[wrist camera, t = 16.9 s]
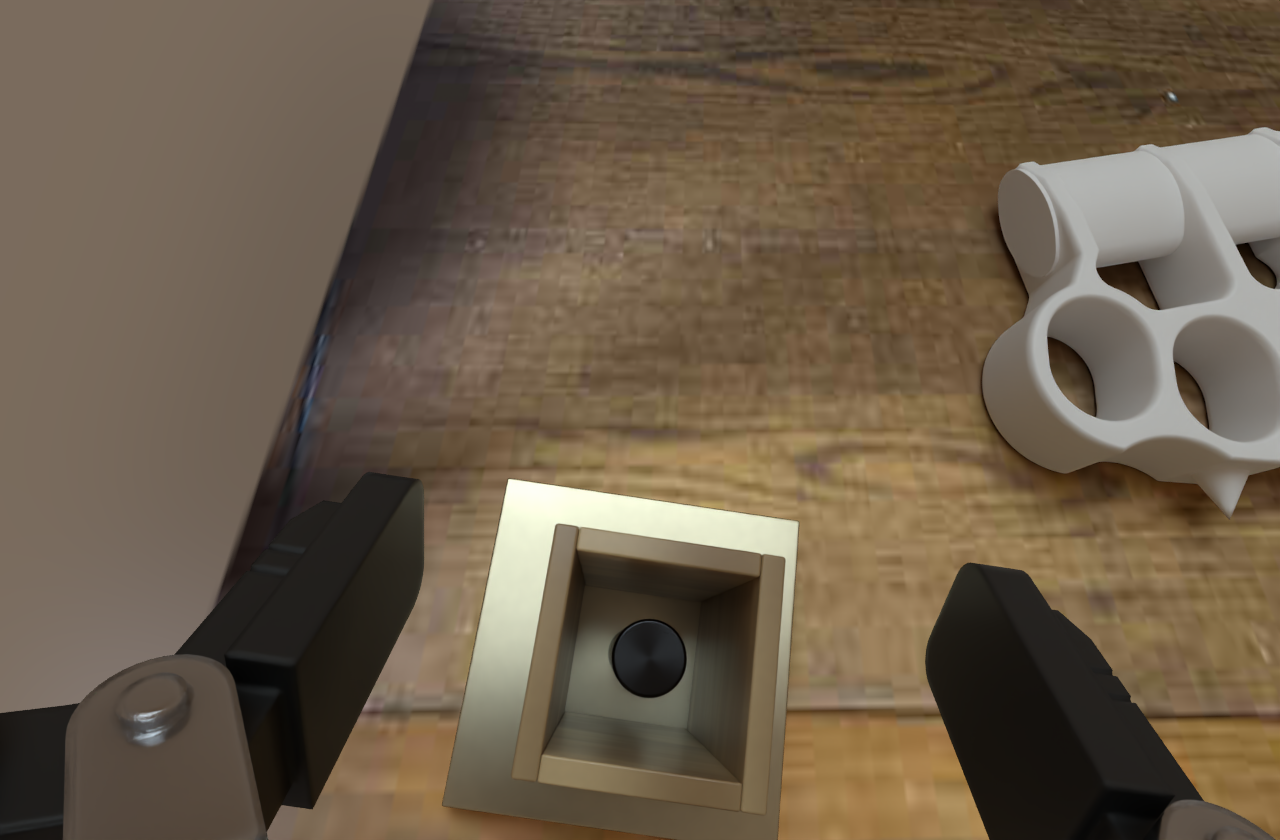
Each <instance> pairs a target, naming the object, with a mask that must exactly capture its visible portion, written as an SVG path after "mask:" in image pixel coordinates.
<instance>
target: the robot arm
mask: <svg viewBox="0 0 1280 840" xmlns="http://www.w3.org/2000/svg"><path fill="white" fill-rule="evenodd" d="M423 569H424V490H423V485H422V482H421V481H420V480H419V479H413V478H406V477H399V476H393V475H386V474H379V473H372V472H368V473H366V474H364V475H363V476H362V478H361V479H360V480H359V481H358V483H357V484H356V485H355V487H354V488H353V489H352V490H351V492H350V493H349V494H348V496H347V497H346V498H345V499H344V501H343V502H342V503H337V502H330V501H322V502H320V503H318V504H317V505H315V506H313V507H312V508H310V509H308V510H306V511H305V512H303V513H301V514H300V515H298V516H296V517H294V518H293V519H291V520H290V521H289V522H288V523H287V525H286V526H285V527H284V528H283V529H282V530H281V532H280V533H279V534H278V535H277V536H276V537H275V539H274V540H273V541H272V542H271V543H270V544H269V549H268V550H264V551H263V552H262V554H261V555H260V556H259V557H258V558H257V559H256V561H255V562H254V563H253V564H252V565H251V570H250V571H246V572H245V573H244V575H243V576H242V577H241V578H240V579H239V580H238V582H237V583H236V584H235V585H234V586H233V587H232V588H231V590H230V591H229V592H228V593H227V594H226V595H225V597H224V598H223V599H222V600H221V601H220V602H219V604H218V605H217V606H216V607H215V608H214V609H213V611H212V612H211V613H210V614H209V615H208V616H207V618H206V619H205V620H204V621H203V622H202V623H201V625H200V626H199V627H198V628H197V629H196V631H194V633H193V634H192V635H191V636H190V637H189V638H188V640H187V641H186V642H185V643H184V644H183V645H182V647H181V648H180V649H179V650H178V651H177V652H176V653H175V655H170V656H163V657H159V658H155V659H150V660H148V661H145V662H142V663H138V664H136V665H134V666H131V667H129V668H127V669H124V670H122V671H121V672H119V673H117V674H115V675H113V676H112V677H110V678H108V679H107V680H106V681H104V682H103V683H101V684H100V685H98V686H97V687H96V688H95V689H94V690H93V691H91V692H90V693H89V694H88V695H87V696H86V697H85V698H84V699H83V701H82V702H81V703H78V704H72V705H65V706H57V707H48V708H40V709H32V710H23V711H15V712H6V713H0V840H268V838H267V833H266V832H267V830H268V829H269V827H270V825H271V823H272V821H273V819H274V817H275V816H276V814H277V812H278V810H279V808H280V806H281V805H286V806H293V807H300V808H307V809H313V807H314V805H315V803H316V801H317V799H318V797H319V795H320V793H321V791H322V789H323V787H324V785H325V783H326V781H327V779H328V777H329V775H330V773H331V771H332V769H333V767H334V765H335V763H336V761H337V759H338V757H339V755H340V753H341V751H342V749H343V747H344V745H345V743H346V741H347V739H348V737H349V735H350V733H351V731H352V729H353V727H354V725H355V723H356V721H357V719H358V717H359V715H360V713H361V711H362V709H363V707H364V705H365V703H366V701H367V699H368V697H369V695H370V693H371V691H372V689H373V687H374V685H375V683H376V681H377V679H378V677H379V675H380V673H381V671H382V669H383V667H384V665H385V663H386V661H387V659H388V657H389V655H390V653H391V651H392V649H393V647H394V645H395V643H396V641H397V639H398V637H399V635H400V633H401V631H402V629H403V627H404V625H405V623H406V621H407V619H408V617H409V615H410V613H411V611H412V609H413V607H414V605H415V602H416V600H417V597H418V594H419V590H420V586H421V582H422V577H423ZM925 664H926V674H927V679H928V682H929V685H930V688H931V690H932V693H933V696H934V698H935V701H936V703H937V706H938V708H939V711H940V713H941V716H942V719H943V721H944V724H945V726H946V729H947V731H948V734H949V737H950V739H951V742H952V744H953V747H954V749H955V752H956V755H957V757H958V760H959V762H960V765H961V767H962V770H963V773H964V775H965V778H966V780H967V783H968V785H969V788H970V791H971V793H972V796H973V798H974V801H975V803H976V806H977V808H978V811H979V814H980V816H981V819H982V821H983V824H984V826H985V829H986V832H987V834H988V837H989V839H990V840H1275V839H1274V838H1273V837H1272V836H1270V835H1269V834H1268V833H1266V832H1265V831H1263V830H1262V829H1261V828H1259V827H1258V826H1256V825H1255V824H1253V823H1251V822H1250V821H1248V820H1247V819H1245V818H1243V817H1241V816H1239V815H1238V814H1236V813H1234V812H1232V811H1230V810H1227V809H1225V808H1223V807H1220V806H1218V805H1215V804H1211V803H1208V802H1204V800H1203V799H1202V797H1201V796H1200V795H1199V793H1198V792H1197V790H1196V789H1195V787H1194V786H1193V785H1192V783H1191V782H1190V780H1189V779H1188V777H1187V776H1186V775H1185V773H1184V772H1183V770H1182V769H1181V767H1180V766H1179V765H1178V763H1177V762H1176V760H1175V759H1174V757H1173V756H1172V754H1171V753H1170V752H1169V750H1168V749H1167V747H1166V746H1165V744H1164V743H1163V742H1162V740H1161V739H1160V737H1159V736H1158V734H1157V733H1156V732H1155V730H1154V729H1153V727H1152V726H1151V724H1150V723H1149V722H1148V720H1147V719H1146V717H1145V716H1144V714H1143V713H1142V712H1141V710H1140V709H1139V707H1138V706H1137V704H1136V703H1131V701H1130V697H1131V696H1130V694H1129V693H1128V692H1127V690H1126V689H1125V687H1124V686H1123V684H1122V683H1121V682H1120V680H1119V679H1118V677H1116V676H1113V675H1112V671H1113V670H1112V669H1111V667H1110V666H1109V664H1108V663H1107V662H1106V660H1105V659H1104V657H1103V656H1102V654H1101V653H1100V652H1099V650H1098V649H1097V647H1096V646H1095V644H1094V643H1093V641H1092V640H1091V639H1090V638H1089V637H1088V636H1087V635H1085V634H1084V633H1083V632H1082V631H1081V630H1080V629H1079V628H1077V627H1076V626H1075V625H1074V624H1073V623H1072V622H1071V621H1069V620H1068V619H1067V618H1066V617H1065V616H1064V615H1063V614H1061V613H1060V612H1059V611H1057V610H1052V609H1051V608H1050V606H1049V605H1048V603H1047V602H1046V600H1045V599H1044V597H1043V596H1042V594H1041V593H1040V591H1039V590H1038V588H1037V587H1036V585H1035V584H1034V582H1033V581H1032V579H1031V578H1030V577H1029V575H1028V574H1027V573H1025V572H1024V571H1022V570H1016V569H1010V568H1003V567H996V566H989V565H983V564H976V563H967V564H965V565H964V566H963V567H962V568H961V569H960V570H959V572H958V574H957V576H956V578H955V580H954V583H953V585H952V587H951V590H950V592H949V594H948V596H947V599H946V601H945V603H944V605H943V608H942V610H941V612H940V615H939V617H938V619H937V621H936V624H935V626H934V628H933V631H932V633H931V635H930V638H929V640H928V644H927V649H926V659H925Z"/></svg>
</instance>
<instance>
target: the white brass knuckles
mask: <svg viewBox="0 0 1280 840" xmlns="http://www.w3.org/2000/svg"><path fill="white" fill-rule="evenodd" d="M998 212H999V220H1000V225H1001V229H1002V233H1003V236H1004V239H1005V242H1006V244H1007V246H1008V249H1009V251H1010V252H1011V254H1012V256H1013V257H1014V260H1015V263H1016V265H1017V267H1018V270H1019V272H1020V275H1021V277H1022V280H1023V282H1024V285H1025V287H1026V290H1027V292H1028V295H1029V301H1028V304H1027V308H1026V311H1025V314H1024V317H1023V318H1022V319H1021V320H1019V321H1018V322H1017V323H1015V324H1014V325H1013V326H1012V327H1010V328H1009V329H1008V330H1006V331H1005V332H1004V333H1003V334H1002V335H1001V336H1000V337H999V338H998V339H997V340H996V342H995V343H994V344H993V346H992V347H991V349H990V351H989V353H988V355H987V358H986V360H985V364H984V368H983V374H982V390H983V396H984V401H985V404H986V407H987V410H988V413H989V415H990V417H991V419H992V421H993V423H994V425H995V426H996V428H997V429H998V431H999V432H1000V433H1001V435H1002V436H1003V437H1004V438H1005V440H1006V441H1007V442H1008V443H1009V444H1010V445H1011V446H1012V447H1013V448H1014V449H1015V450H1017V451H1018V452H1019V453H1020V454H1022V455H1023V456H1024V457H1026V458H1027V459H1029V460H1030V461H1032V462H1034V463H1036V464H1038V465H1040V466H1042V467H1044V468H1047V469H1049V470H1052V471H1056V472H1060V473H1070V472H1072V471H1075V470H1078V469H1081V468H1083V467H1086V466H1089V465H1092V464H1094V463H1097V462H1114V463H1120V464H1124V465H1128V466H1131V467H1133V468H1136V469H1138V470H1140V471H1142V472H1144V473H1146V474H1148V475H1150V476H1151V477H1153V478H1154V479H1156V480H1157V481H1164V482H1178V483H1192V484H1198V485H1199V486H1200V487H1201V488H1202V490H1203V491H1204V492H1205V493H1206V494H1207V495H1208V496H1209V497H1210V498H1211V500H1212V501H1213V502H1214V503H1215V504H1216V505H1217V506H1218V507H1219V509H1220V510H1221V511H1222V512H1223V513H1224V514H1225V515H1226V516H1227V517H1228V519H1229V520H1230V518H1231V516H1232V514H1233V511H1234V509H1235V506H1236V504H1237V502H1238V499H1239V497H1240V495H1241V492H1242V490H1243V487H1244V485H1245V483H1246V480H1247V478H1248V475H1252V474H1256V473H1260V472H1264V471H1267V470H1271V469H1275V468H1279V467H1280V131H1274V130H1272V129H1269V128H1266V127H1265V128H1258V129H1254V130H1253V131H1251V132H1250V133H1249V134H1247V135H1244V136H1237V137H1230V138H1223V139H1216V140H1210V141H1203V142H1196V143H1189V144H1182V145H1175V146H1169V147H1162V148H1159V147H1157V146H1155V145H1153V144H1150V145H1143V146H1140V147H1138V148H1137V149H1136V150H1135V151H1134V152H1128V153H1121V154H1114V155H1108V156H1101V157H1094V158H1087V159H1081V160H1074V161H1067V162H1060V163H1054V164H1047V165H1039V164H1037V163H1035V162H1028V163H1021V164H1020V165H1019V166H1018V167H1017V168H1016V169H1013V170H1010V171H1009V172H1007V173H1006V174H1005V176H1004V177H1003V179H1002V180H1001V183H1000V186H999V190H998ZM1242 243H1249V245H1250V247H1251V249H1252V251H1253V253H1254V255H1255V257H1256V258H1258V259H1259V260H1261V261H1262V262H1264V263H1265V264H1266V265H1268V266H1269V267H1270V268H1271V269H1272V270H1273V272H1274V273H1275V275H1276V278H1277V285H1276V287H1275V289H1272V288H1268V287H1266V286H1264V285H1262V284H1260V283H1259V282H1258V281H1256V280H1255V279H1254V278H1253V276H1252V275H1251V274H1250V272H1249V271H1248V269H1247V267H1246V265H1245V263H1244V261H1243V259H1242V257H1241V255H1240V253H1239V251H1238V249H1237V247H1236V244H1242ZM1135 261H1138V262H1139V264H1140V267H1141V269H1142V271H1143V273H1144V275H1145V277H1146V279H1147V282H1148V284H1149V286H1150V288H1151V290H1152V292H1153V295H1154V297H1155V299H1156V301H1157V303H1158V305H1159V308H1160V310H1153V309H1150V308H1148V307H1146V306H1144V305H1143V304H1141V303H1140V302H1139V301H1138V300H1136V299H1135V298H1133V297H1132V296H1130V295H1128V294H1126V293H1125V292H1122V291H1120V290H1118V289H1115V288H1113V287H1111V286H1109V285H1107V284H1106V283H1105V282H1104V281H1103V280H1102V279H1101V278H1100V276H1099V275H1098V273H1097V270H1096V268H1099V267H1105V266H1111V265H1117V264H1123V263H1129V262H1135ZM1047 337H1051V338H1054V339H1057V340H1059V341H1061V342H1063V343H1065V344H1067V345H1068V346H1070V347H1071V348H1072V349H1073V350H1075V351H1076V352H1077V353H1078V354H1079V355H1080V356H1081V358H1082V359H1083V360H1084V361H1085V363H1086V364H1087V366H1088V368H1089V370H1090V372H1091V375H1092V378H1093V381H1094V388H1095V397H1096V406H1097V412H1096V418H1095V417H1093V416H1091V415H1088V414H1086V413H1085V412H1083V411H1081V410H1080V409H1078V408H1077V407H1076V406H1074V405H1073V404H1072V403H1071V402H1070V401H1069V400H1068V399H1067V398H1066V397H1065V396H1064V395H1063V393H1062V392H1061V391H1060V389H1059V388H1058V386H1057V384H1056V383H1055V381H1054V378H1053V376H1052V373H1051V370H1050V365H1049V355H1048V344H1047ZM1173 361H1175V362H1177V363H1178V364H1180V365H1181V366H1182V367H1183V368H1185V369H1186V370H1187V371H1188V372H1189V373H1190V374H1191V375H1192V377H1193V378H1194V379H1195V380H1196V382H1197V383H1198V385H1199V387H1200V389H1201V391H1202V393H1203V396H1204V399H1205V403H1206V409H1207V415H1208V421H1209V430H1208V429H1207V428H1206V427H1204V426H1203V425H1202V424H1201V423H1200V422H1199V421H1198V420H1196V418H1195V417H1194V416H1193V415H1192V414H1191V413H1190V411H1189V410H1188V409H1187V407H1186V406H1185V404H1184V402H1183V400H1182V398H1181V396H1180V393H1179V390H1178V387H1177V382H1176V375H1175V369H1174V362H1173Z"/></svg>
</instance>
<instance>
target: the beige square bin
mask: <svg viewBox="0 0 1280 840" xmlns="http://www.w3.org/2000/svg"><path fill="white" fill-rule="evenodd" d="M558 523H560V524H567V525H573V526H578V527H579V529H580V527H587V528H593V529H600V530H607V531H614V532H620V533H627V534H634V535H641V536H647V537H654V538H661V539H668V540H674V541H681V542H688V543H694V544H701V545H708V546H715V547H721V548H728V549H735V550H742V551H748V552H755V553H760V554H761V555H763V554H769V555H775V556H782V557H784V558H785V560H786V562H785V575H784V589H783V602H782V615H781V629H780V642H779V655H778V669H777V682H776V696H775V709H774V722H773V736H772V749H771V762H770V776H769V789H768V802H767V813H766V815H764V816H762V815H755V814H748V813H743V812H741V811H739V812H734V811H727V810H720V809H713V808H706V807H699V806H692V805H685V804H679V803H672V802H665V801H658V800H651V799H644V798H637V797H630V796H624V795H617V794H610V793H603V792H596V791H589V790H582V789H576V788H569V787H562V786H555V785H548V784H541V783H538V780H537V781H536V782H528V781H521V780H515V779H512V778H511V771H512V766H513V760H514V754H515V749H516V743H517V738H518V732H519V726H520V721H521V715H522V709H523V704H524V698H525V693H526V687H527V681H528V676H529V670H530V664H531V659H532V653H533V648H534V642H535V636H536V631H537V625H538V619H539V614H540V608H541V603H542V597H543V591H544V586H545V580H546V574H547V569H548V563H549V558H550V552H551V546H552V541H553V535H554V529H555V525H556V524H558ZM798 537H799V521H796V520H789V519H782V518H775V517H768V516H762V515H755V514H748V513H741V512H735V511H728V510H721V509H714V508H708V507H701V506H694V505H687V504H680V503H674V502H667V501H660V500H653V499H647V498H640V497H633V496H626V495H620V494H613V493H606V492H599V491H592V490H586V489H579V488H572V487H565V486H559V485H552V484H545V483H538V482H532V481H525V480H518V479H511V478H508V479H507V484H506V489H505V494H504V499H503V504H502V509H501V514H500V519H499V524H498V529H497V534H496V539H495V544H494V549H493V554H492V559H491V564H490V569H489V574H488V579H487V584H486V589H485V594H484V598H483V603H482V608H481V613H480V618H479V623H478V628H477V633H476V638H475V643H474V648H473V653H472V658H471V663H470V668H469V673H468V678H467V683H466V688H465V693H464V698H463V703H462V708H461V712H460V717H459V722H458V727H457V732H456V737H455V742H454V747H453V752H452V757H451V762H450V767H449V772H448V777H447V782H446V787H445V792H444V797H443V802H442V806H445V807H452V808H459V809H466V810H473V811H480V812H487V813H494V814H501V815H507V816H514V817H521V818H528V819H535V820H542V821H549V822H556V823H563V824H570V825H577V826H584V827H591V828H598V829H605V830H612V831H619V832H626V833H633V834H640V835H647V836H654V837H661V838H667V839H674V840H778V828H779V813H780V799H781V784H782V770H783V755H784V740H785V726H786V711H787V697H788V682H789V668H790V653H791V639H792V624H793V610H794V595H795V581H796V566H797V551H798ZM700 607H701V602H693V601H686V600H680V599H673V598H666V597H659V596H653V595H646V594H639V593H632V592H626V591H619V590H612V589H605V588H599V587H592V586H586V585H585V588H584V594H583V601H582V607H581V613H580V619H579V625H578V632H577V638H576V644H575V650H574V657H573V663H572V669H571V675H570V682H569V688H568V694H567V700H566V706H565V711H569V712H575V713H582V714H589V715H596V716H603V717H610V718H616V719H623V720H630V721H637V722H644V723H651V724H657V725H664V726H671V727H678V728H685V729H687V726H688V717H689V708H690V698H691V689H692V680H693V671H694V662H695V653H696V644H697V635H698V626H699V616H700Z"/></svg>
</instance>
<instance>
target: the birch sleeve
mask: <svg viewBox="0 0 1280 840" xmlns="http://www.w3.org/2000/svg"><path fill="white" fill-rule="evenodd" d="M785 562H786V560H785V558H784V557H782V556H775V555H769V554H763V555H761V554H760V553H755V552H748V551H742V550H735V549H728V548H721V547H715V546H708V545H701V544H694V543H688V542H681V541H674V540H668V539H661V538H654V537H647V536H641V535H634V534H627V533H620V532H614V531H607V530H600V529H593V528H587V527H580V529H579V527H578V526H573V525H567V524H560V523H558V524H556V525H555V529H554V535H553V541H552V546H551V552H550V558H549V563H548V569H547V574H546V580H545V586H544V591H543V597H542V603H541V608H540V614H539V619H538V625H537V631H536V636H535V642H534V648H533V653H532V659H531V664H530V670H529V676H528V681H527V687H526V693H525V698H524V704H523V709H522V715H521V721H520V726H519V732H518V738H517V743H516V749H515V754H514V760H513V766H512V771H511V778H512V779H515V780H521V781H528V782H536V781H537V780H538V783H541V784H548V785H555V786H562V787H569V788H576V789H582V790H589V791H596V792H603V793H610V794H617V795H624V796H630V797H637V798H644V799H651V800H658V801H665V802H672V803H679V804H685V805H692V806H699V807H706V808H713V809H720V810H727V811H734V812H739V811H741V812H743V813H748V814H755V815H762V816H764V815H766V813H767V802H768V789H769V776H770V762H771V749H772V736H773V722H774V709H775V696H776V682H777V669H778V655H779V642H780V629H781V615H782V602H783V589H784V575H785ZM585 585H586V586H592V587H599V588H605V589H612V590H619V591H626V592H632V593H639V594H646V595H653V596H659V597H666V598H673V599H680V600H686V601H693V602H701V607H700V616H699V626H698V635H697V644H696V653H695V662H694V671H693V680H692V689H691V698H690V708H689V717H688V726H687V729H685V728H678V727H671V726H664V725H657V724H651V723H644V722H637V721H630V720H623V719H616V718H610V717H603V716H596V715H589V714H582V713H575V712H569V711H565V706H566V700H567V694H568V688H569V682H570V675H571V669H572V663H573V657H574V650H575V644H576V638H577V632H578V625H579V619H580V613H581V607H582V601H583V594H584V588H585Z"/></svg>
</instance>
